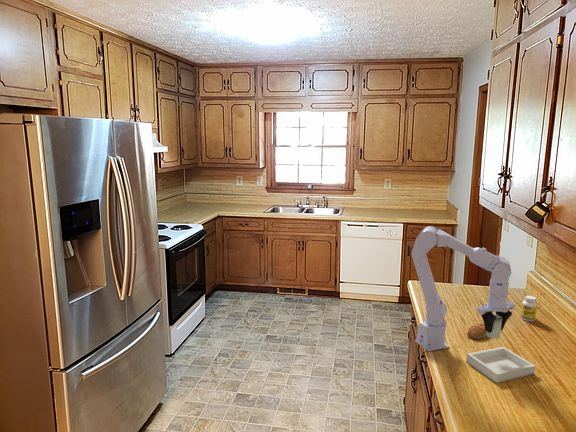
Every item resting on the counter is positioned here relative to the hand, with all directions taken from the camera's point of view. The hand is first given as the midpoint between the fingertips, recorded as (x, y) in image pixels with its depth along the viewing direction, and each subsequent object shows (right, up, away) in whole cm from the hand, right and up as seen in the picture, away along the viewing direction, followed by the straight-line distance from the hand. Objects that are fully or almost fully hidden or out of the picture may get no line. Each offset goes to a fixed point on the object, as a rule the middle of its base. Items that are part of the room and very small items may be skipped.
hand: (493, 330), depth 144 cm
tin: (0, -2, 0) cm, 2 cm away
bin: (-1, -11, -5) cm, 12 cm away
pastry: (+3, -7, +18) cm, 20 cm away
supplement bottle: (+31, -4, +33) cm, 45 cm away
